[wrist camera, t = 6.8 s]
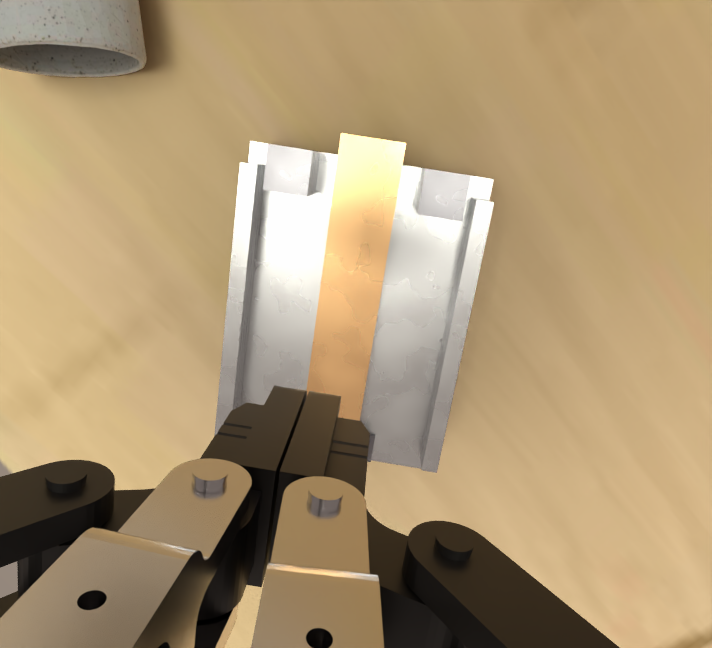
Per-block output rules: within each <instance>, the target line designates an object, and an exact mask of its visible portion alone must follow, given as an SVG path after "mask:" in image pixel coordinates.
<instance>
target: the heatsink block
mask: <svg viewBox="0 0 712 648" xmlns="http://www.w3.org/2000/svg"><path fill="white" fill-rule="evenodd" d="M337 159H338V155H336V154H330V153H324V152H318V151H312V150H305V149H299V148H293V147H286V146H280V145H274V144H266V143H260V142H254V141H250V150H249V160H248V162H240V168H239V179H238V190H237V200H236V211H235V222H234V232H233V243H232V254H231V265H230V275H229V286H228V297H227V307H226V318H225V329H224V340H223V350H222V361H221V372H220V382H219V393H218V404H217V415H216V425H215V435H216V434H217V433H218V430H219V429H220V427H221V426H222V425H223V424H224V421H225V420H226V418H227V417H228V415H229V413H230V412H231V411H232V410H234V409H236V408H237V407H239V406H241V405H243V404H245V403H253V404H259V405H264V404H265V402H266V400H267V398H268V396H269V394H270V393H271V391H272V389H273V387H274V386H275V385H277V386H283V387H289V388H295V389H301V390H306V389H307V382H308V375H309V367H310V360H311V352H312V345H313V337H314V330H315V323H316V315H317V308H318V300H319V293H320V285H321V278H322V271H323V263H324V256H325V248H326V241H327V233H328V226H329V218H330V211H331V204H332V196H333V189H334V181H335V174H336V166H337ZM493 180H494V179H489V178H482V177H476V176H471V175H464V174H458V173H451V172H445V171H439V170H432V169H426V168H419V167H412V166H406V165H402V171H401V177H400V183H399V189H398V195H397V201H396V207H395V213H394V219H393V225H392V231H391V237H390V243H389V249H388V255H387V261H386V267H385V273H384V279H383V285H382V291H381V296H380V302H379V308H378V314H377V320H376V326H375V332H374V338H373V344H372V350H371V356H370V362H369V368H368V374H367V380H366V386H365V392H364V398H363V404H362V410H361V416H360V421H362V423H363V424H364V426H365V427H366V429H367V430H368V432H369V433H370V436H369V437H370V442H369V449H368V458H367V461H368V462H371V460H372V461H378V462H384V463H390V464H396V465H402V466H408V467H414V468H420V469H422V470H423V471H429V472H435V473H437V469H438V464H439V460H440V455H441V450H442V446H443V441H444V436H445V432H446V427H447V422H448V417H449V413H450V408H451V403H452V399H453V394H454V389H455V384H456V380H457V375H458V370H459V366H460V361H461V356H462V351H463V347H464V342H465V337H466V333H467V328H468V323H469V319H470V314H471V309H472V304H473V300H474V295H475V290H476V286H477V281H478V276H479V271H480V267H481V262H482V257H483V253H484V248H485V243H486V239H487V234H488V229H489V224H490V220H491V215H492V210H493V206H494V202H492V201H489V199H490V195H491V190H492V185H493Z"/></svg>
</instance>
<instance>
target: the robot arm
mask: <svg viewBox="0 0 712 648" xmlns="http://www.w3.org/2000/svg"><path fill="white" fill-rule="evenodd" d="M340 402H341V396H339V395H332V394H326V393H320V392H314V391H309V393H308V395H307V390H301V389H295V388H289V387H283V386H277V385H275V386H274V387H273V389H272V391H271V393H270V394H269V396H268V398H267V400H266V402H265V404H264V405H259V404H253V403H245V404H243V405H241V406H239V407H237V408H236V409H234V410H232V411H231V412H230V413H229V415H228V417H227V418H226V420H225V421H224V424H223V425H222V426H221V427H220V429H219V430H218V433H217V434H216V435H215V437H214V438H213V440H212V441H211V443H210V444H209V446H208V447H207V449H206V451H205V452H204V454H203V455H202V457H201V458H200V459H196V460H192V461H188V462H185V463H183V464H180V465H178V466H177V467H175V468H174V469H173V470H172V471H170V473H169V474H168V475H167V476H166V477H165V478H164V479H163V481H162V482H161V483H160V484H159V485H158V486H157V487H156V488H155V489H145V490H116V491H114V485H115V479H114V475H113V473H112V472H111V470H110V469H108V468H107V467H105V466H103V465H101V464H99V463H95V462H91V461H84V460H65V461H58V462H53V463H49V464H45V465H41V466H38V467H34V468H31V469H27V470H24V471H20V472H16V473H13V474H9V475H6V476H2V477H0V567H3V566H5V565H8V564H11V563H13V562H16V561H17V564H18V591H17V592H15V593H12V594H10V595H7V596H5V597H2V598H0V648H224V647H225V645H226V643H227V640H228V638H229V636H230V634H231V631H232V629H233V627H234V625H235V622H236V619H237V611H238V603H239V602H240V600H241V598H242V596H243V593H244V590H245V587H246V585H252V586H258V587H262V584H263V580H264V584H263V589H262V594H261V600H260V605H259V610H258V615H257V620H256V625H255V630H254V635H253V640H252V645H251V648H619V647H618V646H617V645H616V644H614V643H613V642H612V641H611V640H610V639H608V638H607V637H606V636H605V635H603V634H602V633H601V632H600V631H598V630H597V629H596V628H595V627H594V626H592V625H591V624H590V623H589V622H587V621H586V620H585V619H584V618H582V617H581V616H580V615H579V614H578V613H576V612H575V611H574V610H573V609H571V608H570V607H569V606H568V605H566V604H565V603H564V602H563V601H562V600H560V599H559V598H558V597H557V596H555V595H554V594H553V593H552V592H551V591H549V590H548V589H547V588H546V587H544V586H543V585H542V584H541V583H539V582H538V581H537V580H536V579H535V578H533V577H532V576H531V575H530V574H528V573H527V572H526V571H525V570H523V569H522V568H521V567H520V566H519V565H517V564H516V563H515V562H514V561H512V560H511V559H510V558H509V557H507V556H506V555H505V554H504V553H503V552H501V551H500V550H499V549H498V548H496V547H495V546H494V545H493V544H491V543H490V542H489V541H488V540H487V539H485V538H484V537H483V536H481V535H480V534H479V533H477V532H475V531H473V530H472V529H470V528H467V527H465V526H462V525H459V524H456V523H452V522H446V521H429V522H425V523H422V524H419V525H417V526H416V527H415V528H413V529H412V531H411V532H410V534H409V536H406V535H403V534H401V533H398V532H396V531H393V530H391V529H389V528H387V527H386V526H384V525H382V524H381V523H379V522H378V521H377V520H376V519H374V518H373V517H372V516H371V514H370V513H369V512H368V510H367V508H366V501H365V498H364V494H365V482H366V471H367V458H368V447H369V436H370V433H369V432H368V430H367V429H366V427H365V426H364V424H363V423H362V421H358V420H352V419H346V418H340V417H338V416H339V409H340ZM264 577H265V579H264Z"/></svg>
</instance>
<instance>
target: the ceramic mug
mask: <svg viewBox="0 0 712 648" xmlns="http://www.w3.org/2000/svg"><path fill="white" fill-rule="evenodd" d="M146 60H147V58H146V51H145V44H144V38H143V30H142V22H141V14H140V7H139V0H0V67H1V68H5V69H9V70H14V71H20V72H26V73H32V74H41V75H48V76H64V77H104V76H118V75H121V74H123V75H124V74H128V73H131V72H136V71H138V70H140V69H142V68H143V67H144V66H145V64H146Z"/></svg>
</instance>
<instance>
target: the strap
mask: <svg viewBox="0 0 712 648" xmlns="http://www.w3.org/2000/svg"><path fill="white" fill-rule="evenodd" d="M405 147H406V143H402V142H396V141H389V140H383V139H376V138H370V137H364V136H357V135H351V134H345V133H341V137H340V144H339V152H338V159H337V166H336V174H335V181H334V189H333V196H332V204H331V211H330V218H329V226H328V233H327V241H326V248H325V256H324V263H323V271H322V278H321V285H320V293H319V300H318V308H317V315H316V323H315V330H314V337H313V345H312V352H311V360H310V367H309V375H308V382H307V389H306V390H307V395H308V393H309V391H314V392H320V393H326V394H332V395H339V396H341V402H340V409H339V416H338V417H340V418H346V419H352V420H358V421H360V416H361V410H362V404H363V398H364V392H365V386H366V380H367V374H368V368H369V362H370V356H371V350H372V344H373V338H374V332H375V326H376V320H377V314H378V308H379V302H380V296H381V291H382V285H383V279H384V273H385V267H386V261H387V255H388V249H389V243H390V237H391V231H392V225H393V219H394V213H395V207H396V201H397V195H398V189H399V183H400V177H401V171H402V165H403V159H404V153H405ZM369 442H370V437H369ZM368 449H369V447H368Z"/></svg>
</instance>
